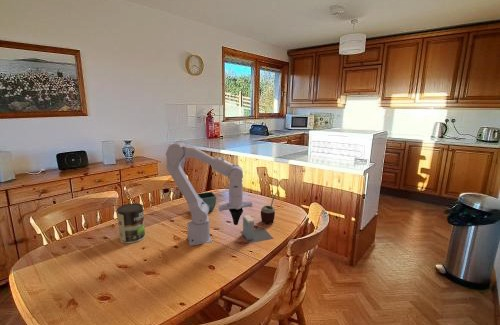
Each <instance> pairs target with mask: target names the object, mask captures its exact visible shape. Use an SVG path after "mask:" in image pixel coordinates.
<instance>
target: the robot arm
mask: <svg viewBox="0 0 500 325" xmlns="http://www.w3.org/2000/svg"><path fill="white" fill-rule="evenodd" d="M165 157H166V170H167V171H168V173H169V175H170V176H171V178H172V179H173V181H174V183H175V185H176V186H177V188H178V189H179V191H180V193H181V194H182V197H183V198H184V200H185V201H186V203H187V204H188V209H189V211H188V212H189V213H190V216H191V217H190V218H191V220H190V221H189V222H187V224H186V226H187V227H186V228H187V240H188V244H189V246H191V247H193V246H197V245H202V244H203V245H204V244H208V243H213V239H212V237H211V232H210V229H211V228H210V226H211V224H210V218H209V216H208V215H209V212H210V211H209V206H208V205H207V204H206V203H205V202H204V201H203V200H202V199H201V198H199V196H198V195H197V194H198V193H197V191H196V189H195V188H194V185H192V183H191V181H190V179H189V178H188V176H187V174H186V173H185V171H184V169H183V167H182V166H181V164H182V163H183V159H189V158H194V159H196V160H199V161H201V162H203V163H205V164H207V165H210V166H211V169H212V171H215V172H217V173H219V174H221V175H223V176H224V177H228V180H229V182H228V203H222V204H219V205H218V212H223V211H228V210H229V213H230V215H231V218H232V221H233V222H232V223H233V225H234V226H238V225H239V222H240V218H241V216H242V214H243V213H244V209H243V208H253V202H252V201H243V191H244V190H243V187H244V186H243V179H244V174H243V171H244V170H243V168H242V167H241V166H240V165H239V164H235V163H232V162H230V161H227V160H226V158H225V157H219V156H218V157H213V156H211V155H210V154H208V153H206V152H204V151H203V150H201V149H199V148H197V147H196V146H194V145H193V144H190V143H188V142H186V141H183V140H177V141H175V142H174V143H172V144H170V145H169V146H168V147H167V150H166V152H165Z"/></svg>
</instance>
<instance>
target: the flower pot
mask: <svg viewBox="0 0 500 325" xmlns="http://www.w3.org/2000/svg"><path fill="white" fill-rule="evenodd" d="M197 195H198V196H199V198H201V199H202V200H203V201H204V202H205V203H206V204H207V205H208V206H209V212H212V211H214V209H215V207H216V204H217V203H216V202H217V195H215V193H213V192H212V191H209V192H200V193H197Z"/></svg>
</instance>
